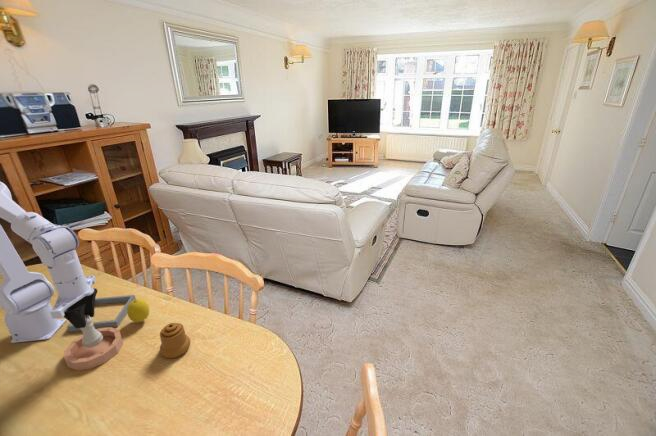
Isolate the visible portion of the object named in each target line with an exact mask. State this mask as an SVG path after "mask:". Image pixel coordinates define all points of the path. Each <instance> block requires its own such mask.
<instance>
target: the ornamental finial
mask: <svg viewBox="0 0 656 436" xmlns="http://www.w3.org/2000/svg"><path fill="white" fill-rule="evenodd" d="M184 327H185V326H184V325H183V324H182V323H179V322H170V323H167V324H166V325H165V326H164V327H162V328H161V330H160V332H159V339H160V341H161V344H160V346H159V353H160V355H161V356H162V357H164V358H166V359H174V358H178V357H180V356H183V354H185V353H186V352H187V351H188V350H189V348H190V345H191V339H190V337H189V336H188V335H187V333H186V331H185V328H184Z"/></svg>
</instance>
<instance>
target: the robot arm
mask: <svg viewBox="0 0 656 436" xmlns="http://www.w3.org/2000/svg"><path fill="white" fill-rule="evenodd" d="M0 219H2V220H5V221H6V222H8V223H9V224H10V229H11V230H12V232H14V233H15V234H16V235H17V236H19V237H21V238H22V239H23V240H25V241H26V242H28V243H29V244H31V245H32V249H33V251H34V252H35V254H36V255H37V256H38V257H39V259H40V261H41V263H42V265H44V266H46V267H47V269H48V272H49V275H50V277H51V280H52V282H53V284H52V283H51V282H50V281H49V280H48V279H47V277H46V276H45V275H44V274H43V273H41V272H36V271H28V270H29V269H28V268H27V267H26V265H25V263H24V262H23V260H22V258H21V257H20V255H19V254H18V252H17V250H16V249H15V246H14V244H13V243H12V241H11V239H10V238H9V237H8V235H7V233H6V232H5V230H4V228H3V226H2V225H1V224H0V275H1V277H2V279H3V280H2V282H1V283H0V307H1V309H2V310H3V311H4V312H5V316H4V324H5V327H6V328H7V330H8V332H9V334H10V336H11V337H12V340H10V343H12V344H15V343H23V342H33V341H43V340H50V339H51V338H52V337H53V336H54V335H55V333H56V332H57V331H58V330H59V329H60V328H61V327H62V326H63V324H64V323H66V321H68V322H69V323H71V324H72V325H73V326H74V327H75V328H84V327H85V326H86V320H85V316H86V317H87V315H89V316H90V317H92V318H94V317H95V305H94V303H95V298H97V294H98V288H95V287H93V288H92V286H93V285H94V284H96V282H97V279H96V277H95V275H86V276H85V274H84V271H83V268H82V265H81V262H80V258H79V256H78V253H77V251H76V249H78V247H79V246H80V241H79V237H78V236H77V234H76V232H75V231H73V229H71V228H70V227H69V226H67V225H60V224H57V225H55V224H54V223H52V222H51V221H49V220H48V219H46V217H45V218H44V217H43V216H42V215H41V214H39V213H37V212H34V211H27V210H25V209H24V208H22V207H21V206H20V205H19V204H17V202H16V201H14V200H13V197H12V193H11V191H10V189H9V188H8V186H7V185H6V184H5V183H4V182H2V181H0ZM54 287H55V288H54ZM55 291H56V292H57V293H56V294H57V295H58V296H57V298H56V300H55V303H54V306H53V307H52V304H51V302H52V301H53V299H52V297H53V296H54V294H55Z"/></svg>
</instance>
